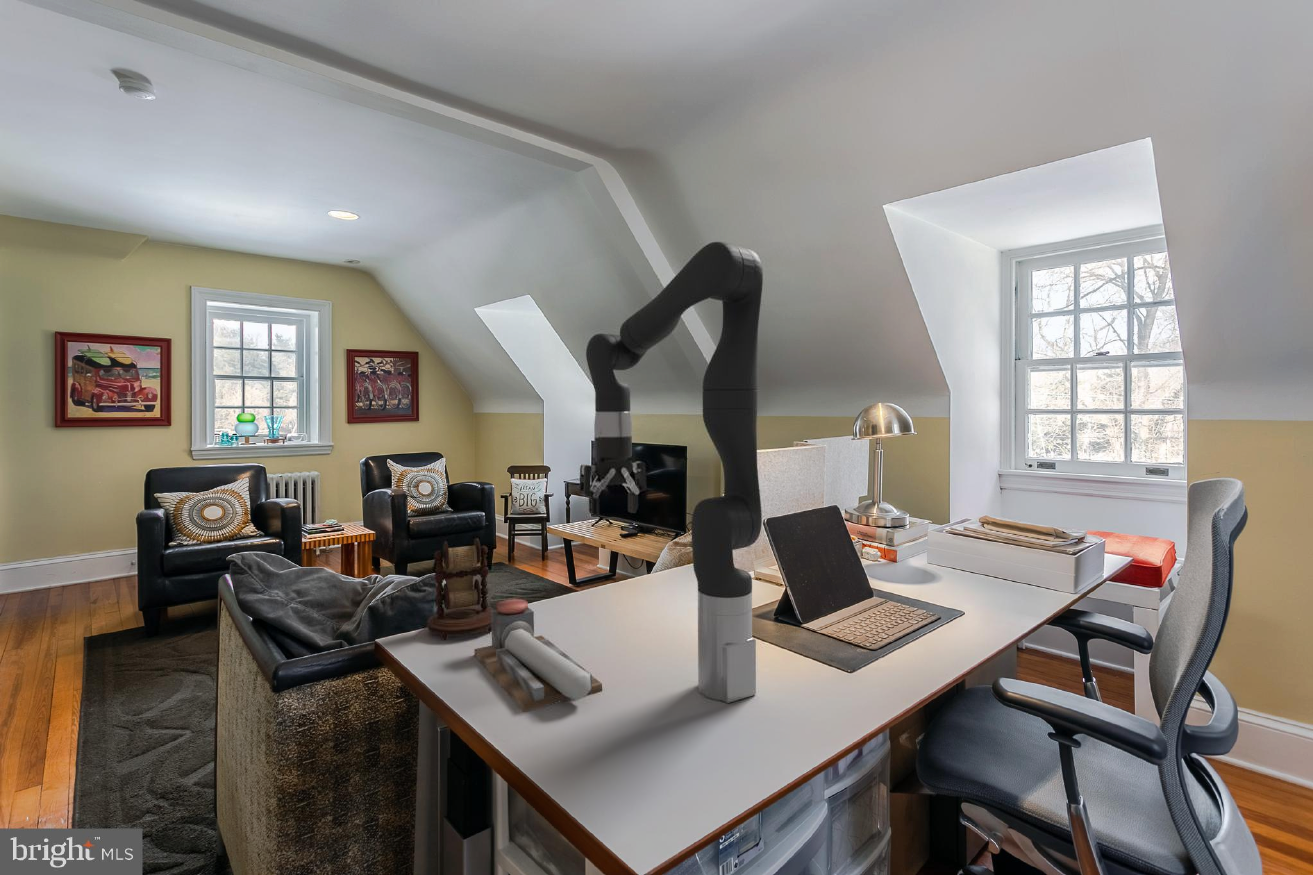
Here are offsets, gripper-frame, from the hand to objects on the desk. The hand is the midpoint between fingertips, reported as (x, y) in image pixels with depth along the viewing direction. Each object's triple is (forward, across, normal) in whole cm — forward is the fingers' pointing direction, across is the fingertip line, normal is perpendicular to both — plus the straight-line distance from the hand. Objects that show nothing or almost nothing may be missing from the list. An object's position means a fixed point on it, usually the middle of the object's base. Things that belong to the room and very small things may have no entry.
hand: (613, 514), depth 130 cm
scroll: (+27, +23, -27) cm, 45 cm away
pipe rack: (+27, +19, +3) cm, 33 cm away
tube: (+26, +19, +9) cm, 33 cm away
